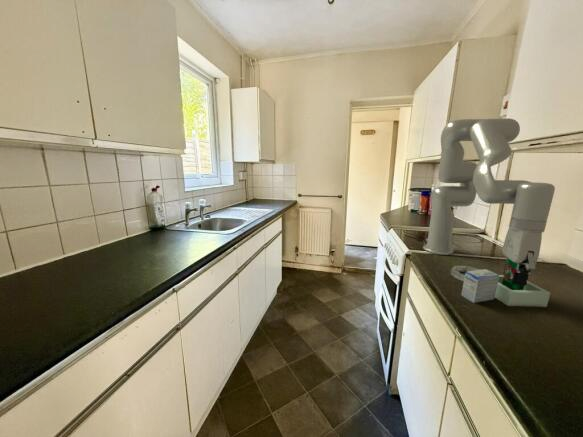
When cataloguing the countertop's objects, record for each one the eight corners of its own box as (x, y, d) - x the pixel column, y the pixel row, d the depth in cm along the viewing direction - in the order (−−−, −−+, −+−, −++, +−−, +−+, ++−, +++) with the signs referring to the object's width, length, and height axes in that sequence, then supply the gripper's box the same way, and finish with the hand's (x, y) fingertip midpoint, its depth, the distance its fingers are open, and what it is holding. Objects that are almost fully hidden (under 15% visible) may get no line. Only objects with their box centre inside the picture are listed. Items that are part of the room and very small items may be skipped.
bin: (480, 287, 79) (482, 274, 78) (513, 287, 79) (516, 275, 78) (507, 306, 68) (511, 292, 67) (546, 306, 68) (550, 292, 67)
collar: (445, 270, 92) (446, 265, 91) (473, 270, 91) (474, 266, 91) (464, 283, 81) (465, 278, 81) (496, 284, 81) (497, 279, 80)
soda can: (520, 287, 74) (528, 252, 71) (525, 295, 70) (534, 258, 67) (499, 283, 77) (506, 249, 74) (503, 290, 72) (511, 255, 70)
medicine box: (480, 292, 76) (485, 268, 74) (494, 300, 71) (500, 274, 69) (460, 295, 74) (465, 270, 72) (474, 303, 70) (479, 277, 68)
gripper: (498, 217, 77) (488, 267, 81) (525, 230, 62) (511, 291, 66) (528, 219, 74) (515, 270, 79) (563, 233, 59) (546, 296, 63)
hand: (514, 279), depth 72 cm, fingers closed on soda can, 5 cm apart
